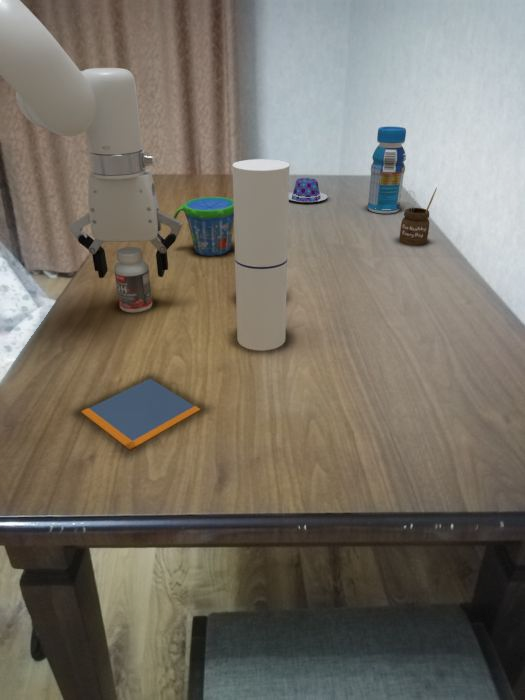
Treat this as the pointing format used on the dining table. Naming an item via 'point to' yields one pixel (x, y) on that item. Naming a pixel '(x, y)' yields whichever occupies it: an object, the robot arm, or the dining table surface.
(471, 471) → the dining table surface
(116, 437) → the corner pad
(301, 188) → the purple patterned hat
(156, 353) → the dining table surface
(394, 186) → the beverage bottle
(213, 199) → the snack cup
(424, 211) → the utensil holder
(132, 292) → the pill bottle
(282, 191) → the cylindrical container
